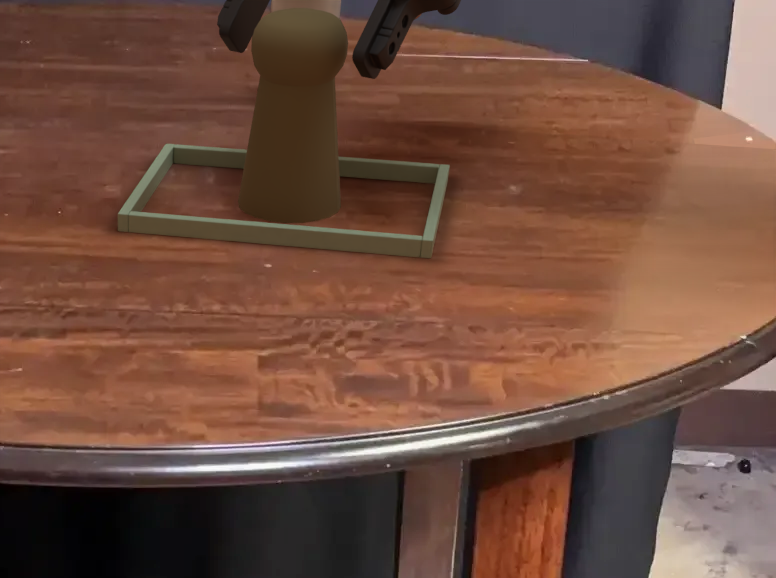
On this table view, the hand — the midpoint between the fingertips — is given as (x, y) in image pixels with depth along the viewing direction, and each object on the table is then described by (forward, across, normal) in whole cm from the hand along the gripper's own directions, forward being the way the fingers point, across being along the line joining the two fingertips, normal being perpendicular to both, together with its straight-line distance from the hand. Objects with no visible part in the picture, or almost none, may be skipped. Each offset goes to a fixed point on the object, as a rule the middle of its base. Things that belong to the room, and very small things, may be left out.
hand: (293, 56), depth 81 cm
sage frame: (+6, 0, -7) cm, 9 cm away
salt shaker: (-9, +13, -22) cm, 27 cm away
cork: (+6, 0, -7) cm, 9 cm away
